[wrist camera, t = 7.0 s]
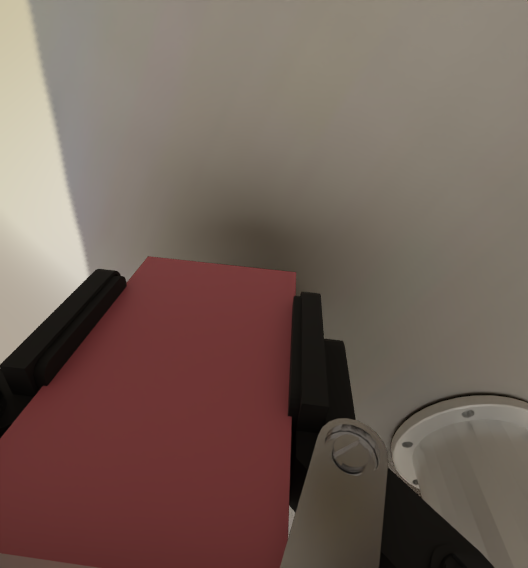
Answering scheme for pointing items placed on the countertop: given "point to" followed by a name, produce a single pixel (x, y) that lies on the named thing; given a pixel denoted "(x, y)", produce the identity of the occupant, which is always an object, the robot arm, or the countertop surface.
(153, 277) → the maroon domino
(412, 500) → the robot arm
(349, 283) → the countertop surface
